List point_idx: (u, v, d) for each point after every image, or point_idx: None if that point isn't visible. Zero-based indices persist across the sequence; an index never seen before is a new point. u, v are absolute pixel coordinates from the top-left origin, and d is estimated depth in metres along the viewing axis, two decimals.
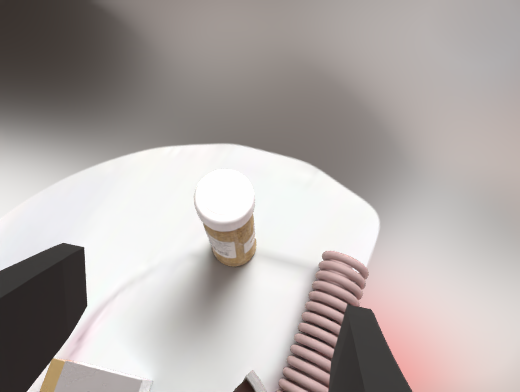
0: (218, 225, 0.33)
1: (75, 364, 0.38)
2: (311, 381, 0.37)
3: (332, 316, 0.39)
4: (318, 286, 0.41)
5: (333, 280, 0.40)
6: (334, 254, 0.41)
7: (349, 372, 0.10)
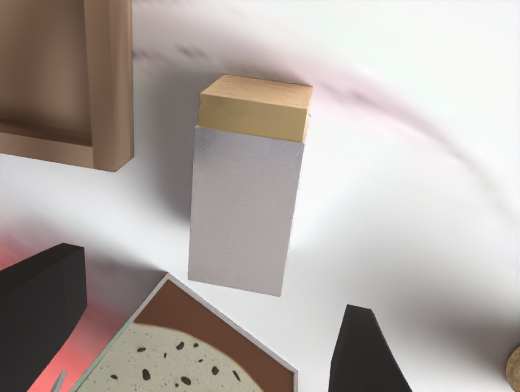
0: None
1: (298, 167, 0.16)
2: None
3: None
4: None
5: None
6: None
7: (349, 372, 0.10)
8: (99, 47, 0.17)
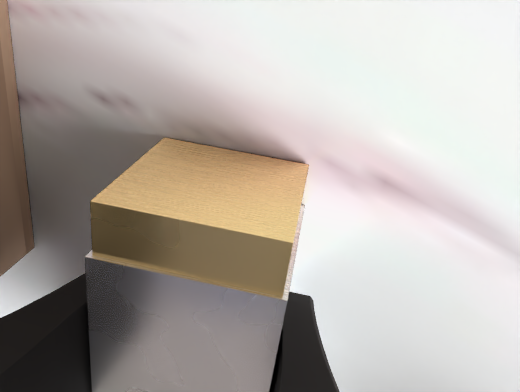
0: None
1: (274, 336, 0.09)
2: None
3: None
4: None
5: None
6: None
7: (278, 356, 0.10)
8: None
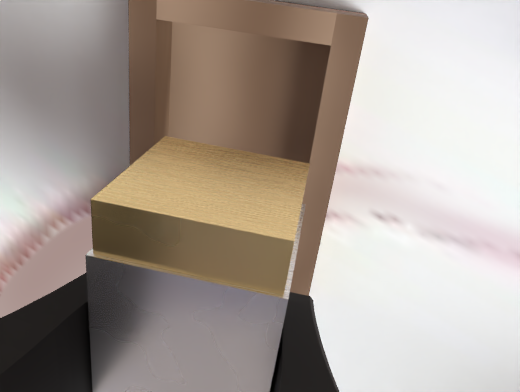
0: None
1: (275, 335, 0.09)
2: None
3: None
4: None
5: None
6: None
7: (278, 356, 0.10)
8: (311, 225, 0.18)
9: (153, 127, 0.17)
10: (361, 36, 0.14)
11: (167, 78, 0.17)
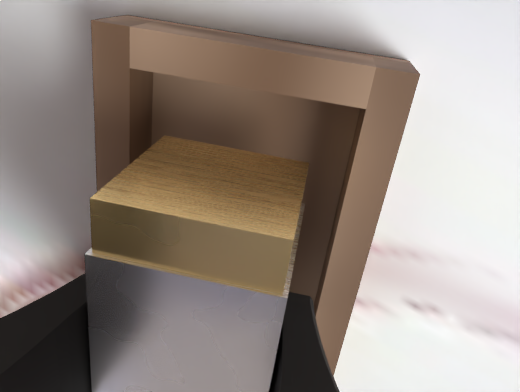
0: None
1: (274, 334, 0.09)
2: None
3: None
4: None
5: None
6: None
7: (278, 356, 0.10)
8: (331, 326, 0.14)
9: None
10: (409, 98, 0.11)
11: (147, 137, 0.14)
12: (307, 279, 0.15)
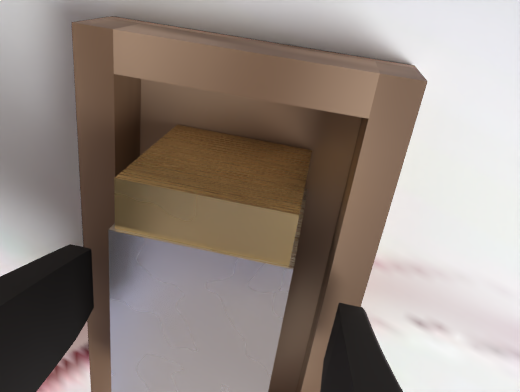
0: None
1: (281, 303, 0.10)
2: None
3: None
4: None
5: None
6: None
7: (339, 370, 0.10)
8: None
9: (114, 216, 0.12)
10: (415, 107, 0.10)
11: (135, 146, 0.13)
12: (305, 295, 0.14)
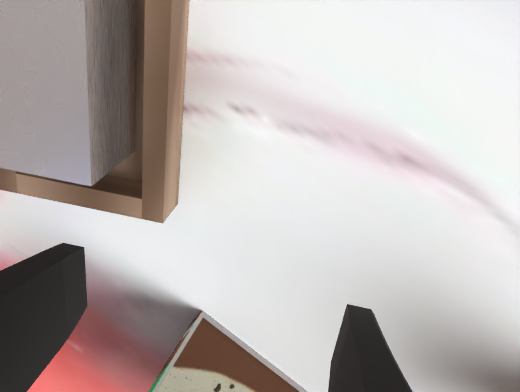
0: None
1: (82, 22, 0.14)
2: None
3: None
4: None
5: None
6: None
7: (349, 372, 0.10)
8: (156, 107, 0.18)
9: None
10: None
11: None
12: None
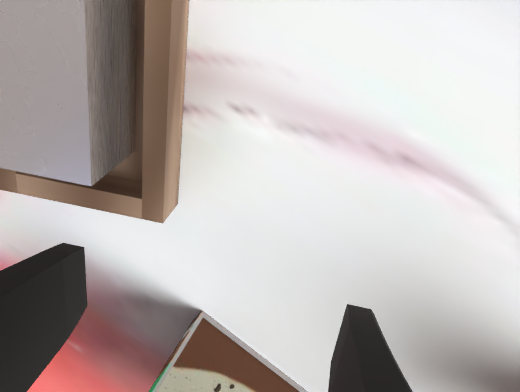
0: None
1: (82, 22, 0.14)
2: None
3: None
4: None
5: None
6: None
7: (349, 372, 0.10)
8: (156, 107, 0.18)
9: None
10: None
11: None
12: None
